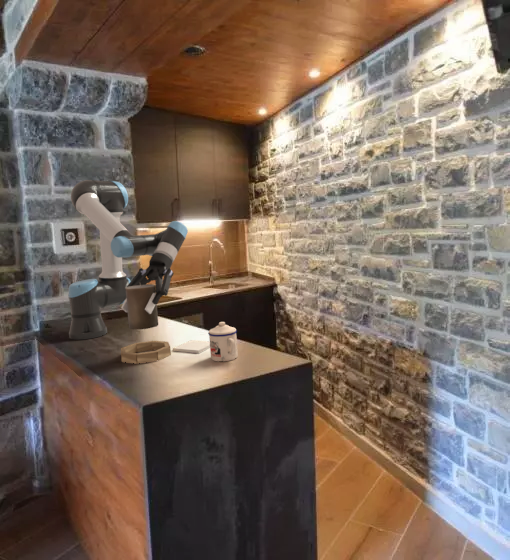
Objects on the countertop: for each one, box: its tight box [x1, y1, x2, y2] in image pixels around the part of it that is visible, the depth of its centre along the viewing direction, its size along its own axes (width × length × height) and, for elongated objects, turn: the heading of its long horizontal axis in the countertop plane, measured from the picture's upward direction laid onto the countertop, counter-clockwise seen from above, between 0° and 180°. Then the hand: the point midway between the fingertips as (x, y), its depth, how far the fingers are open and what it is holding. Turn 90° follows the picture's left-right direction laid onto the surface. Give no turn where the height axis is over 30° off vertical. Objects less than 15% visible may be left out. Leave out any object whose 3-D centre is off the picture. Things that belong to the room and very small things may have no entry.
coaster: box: [172, 339, 210, 354], centre depth 154 cm, size 11×11×1 cm
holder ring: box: [120, 340, 172, 365], centre depth 147 cm, size 16×16×3 cm
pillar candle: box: [125, 283, 159, 330], centre depth 145 cm, size 10×10×15 cm
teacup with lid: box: [208, 321, 239, 362], centre depth 138 cm, size 12×9×12 cm
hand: (135, 310), depth 143 cm, fingers closed on pillar candle, 9 cm apart
